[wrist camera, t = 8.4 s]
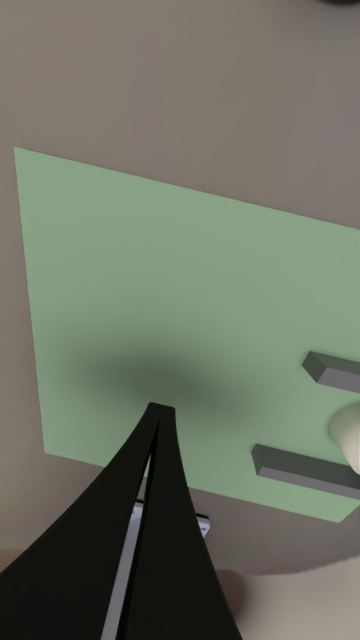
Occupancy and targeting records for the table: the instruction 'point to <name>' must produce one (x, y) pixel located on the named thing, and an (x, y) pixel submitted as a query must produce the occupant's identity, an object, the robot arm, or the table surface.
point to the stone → (347, 433)
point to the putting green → (186, 324)
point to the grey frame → (310, 468)
